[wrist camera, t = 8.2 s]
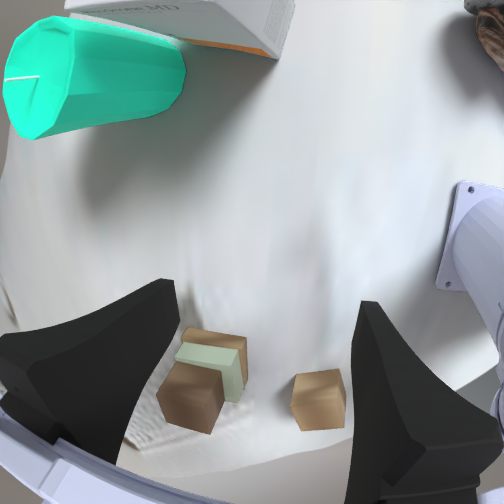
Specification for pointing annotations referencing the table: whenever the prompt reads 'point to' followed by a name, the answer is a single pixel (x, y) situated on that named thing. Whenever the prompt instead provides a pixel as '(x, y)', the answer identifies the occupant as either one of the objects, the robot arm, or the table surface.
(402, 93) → the table surface
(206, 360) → the slab top
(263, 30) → the skincare box
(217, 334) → the slab bottom
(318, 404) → the oak cube
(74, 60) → the candle
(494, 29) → the bison figurine
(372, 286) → the table surface
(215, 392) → the walnut cube
